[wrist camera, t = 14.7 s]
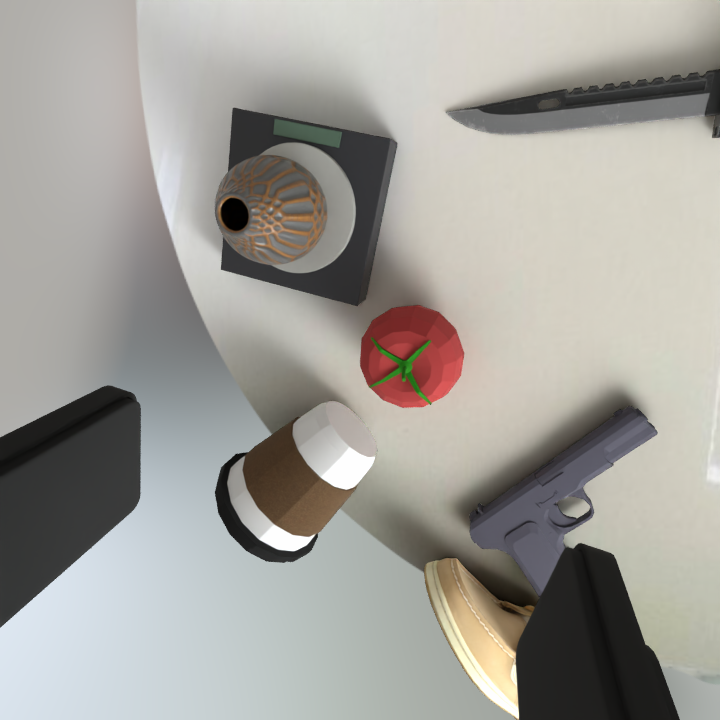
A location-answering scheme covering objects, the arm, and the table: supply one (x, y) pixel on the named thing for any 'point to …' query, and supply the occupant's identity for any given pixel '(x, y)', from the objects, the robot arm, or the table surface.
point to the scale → (343, 196)
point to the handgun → (554, 497)
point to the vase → (271, 209)
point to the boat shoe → (478, 629)
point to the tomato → (411, 356)
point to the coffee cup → (294, 482)
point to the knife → (601, 106)
